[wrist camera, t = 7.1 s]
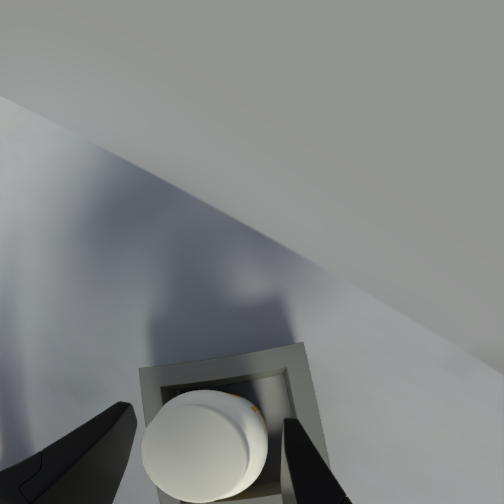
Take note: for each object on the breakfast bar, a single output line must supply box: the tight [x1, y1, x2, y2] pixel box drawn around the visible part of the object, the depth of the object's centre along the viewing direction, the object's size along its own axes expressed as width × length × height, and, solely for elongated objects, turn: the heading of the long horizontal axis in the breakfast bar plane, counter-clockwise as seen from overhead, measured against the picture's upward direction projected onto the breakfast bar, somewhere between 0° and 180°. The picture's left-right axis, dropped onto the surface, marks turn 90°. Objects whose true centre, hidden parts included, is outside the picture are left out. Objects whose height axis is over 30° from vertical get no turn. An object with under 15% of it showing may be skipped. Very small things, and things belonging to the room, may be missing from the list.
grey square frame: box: [139, 342, 331, 504], centre depth 17 cm, size 10×10×4 cm
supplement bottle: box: [141, 390, 268, 503], centre depth 14 cm, size 5×5×10 cm
